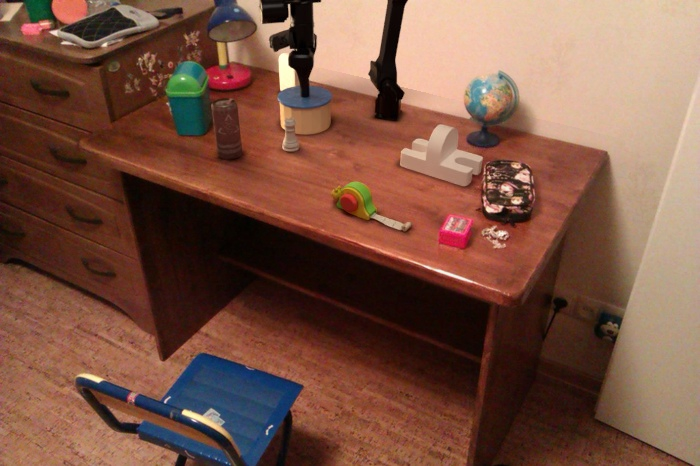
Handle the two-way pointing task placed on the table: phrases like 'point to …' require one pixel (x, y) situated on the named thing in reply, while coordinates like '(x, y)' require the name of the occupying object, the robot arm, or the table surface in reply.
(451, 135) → the grey bracket part
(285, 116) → the tin
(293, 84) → the photo printer
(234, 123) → the can
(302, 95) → the lid
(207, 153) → the table surface
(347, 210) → the toy measuring tape
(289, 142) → the rook chess piece
